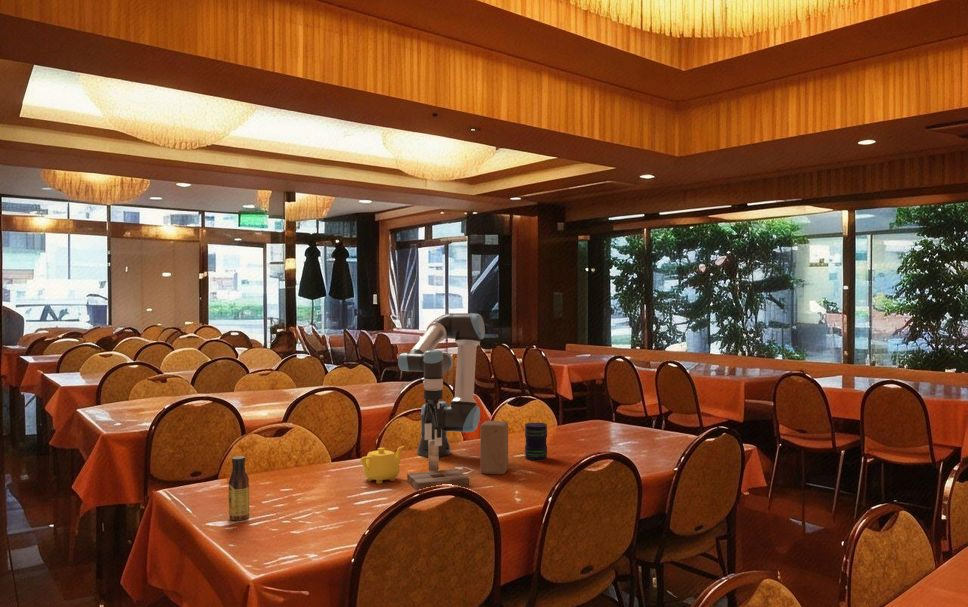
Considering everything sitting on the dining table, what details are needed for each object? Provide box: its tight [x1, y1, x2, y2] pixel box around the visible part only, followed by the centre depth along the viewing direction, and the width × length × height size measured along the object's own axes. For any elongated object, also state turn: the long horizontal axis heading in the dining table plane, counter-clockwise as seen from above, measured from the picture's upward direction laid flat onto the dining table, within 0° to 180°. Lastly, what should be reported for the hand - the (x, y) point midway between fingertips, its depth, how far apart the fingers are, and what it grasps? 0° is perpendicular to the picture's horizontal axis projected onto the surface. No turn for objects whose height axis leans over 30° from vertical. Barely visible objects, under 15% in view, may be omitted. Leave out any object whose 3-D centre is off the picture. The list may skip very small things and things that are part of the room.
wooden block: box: [479, 420, 509, 475], centre depth 281 cm, size 10×10×20 cm
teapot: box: [360, 445, 405, 485], centre depth 269 cm, size 13×20×12 cm
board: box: [406, 468, 470, 491], centre depth 263 cm, size 15×20×3 cm
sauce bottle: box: [228, 455, 250, 521], centre depth 222 cm, size 7×6×20 cm
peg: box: [427, 440, 440, 472], centre depth 275 cm, size 4×4×14 cm
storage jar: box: [524, 422, 548, 462], centre depth 305 cm, size 10×10×15 cm
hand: (433, 442), depth 275 cm, fingers open, 13 cm apart
